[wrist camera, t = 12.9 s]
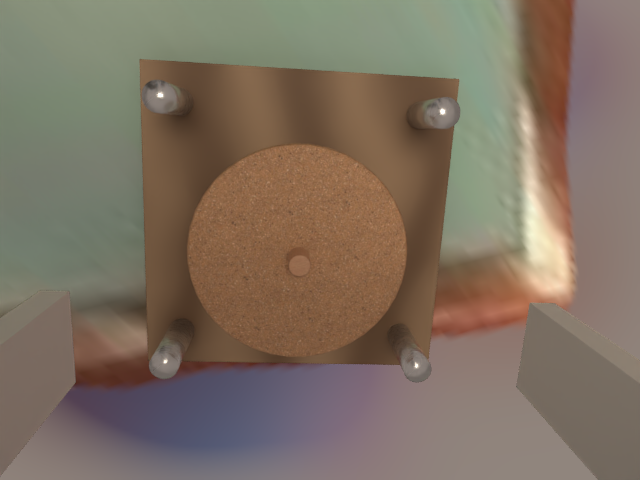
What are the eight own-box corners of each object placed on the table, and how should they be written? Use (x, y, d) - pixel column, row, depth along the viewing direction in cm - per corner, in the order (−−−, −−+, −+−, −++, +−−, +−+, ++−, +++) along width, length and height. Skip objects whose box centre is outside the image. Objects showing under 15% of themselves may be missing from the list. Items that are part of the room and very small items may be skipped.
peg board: (154, 350, 34) (148, 360, 32) (146, 62, 30) (139, 59, 28) (421, 355, 35) (427, 365, 34) (451, 81, 31) (459, 79, 30)
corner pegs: (169, 340, 32) (149, 378, 27) (165, 86, 29) (140, 78, 24) (409, 345, 33) (430, 382, 29) (433, 102, 30) (461, 97, 25)
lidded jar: (191, 158, 30) (149, 172, 21) (363, 123, 30) (397, 122, 21) (232, 319, 32) (211, 395, 23) (391, 286, 32) (432, 348, 23)
